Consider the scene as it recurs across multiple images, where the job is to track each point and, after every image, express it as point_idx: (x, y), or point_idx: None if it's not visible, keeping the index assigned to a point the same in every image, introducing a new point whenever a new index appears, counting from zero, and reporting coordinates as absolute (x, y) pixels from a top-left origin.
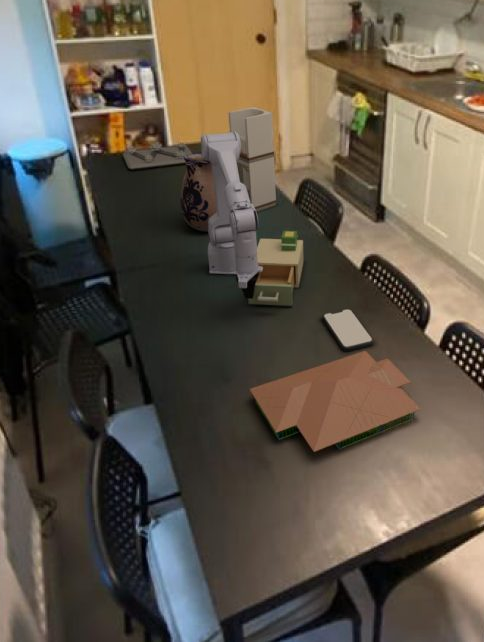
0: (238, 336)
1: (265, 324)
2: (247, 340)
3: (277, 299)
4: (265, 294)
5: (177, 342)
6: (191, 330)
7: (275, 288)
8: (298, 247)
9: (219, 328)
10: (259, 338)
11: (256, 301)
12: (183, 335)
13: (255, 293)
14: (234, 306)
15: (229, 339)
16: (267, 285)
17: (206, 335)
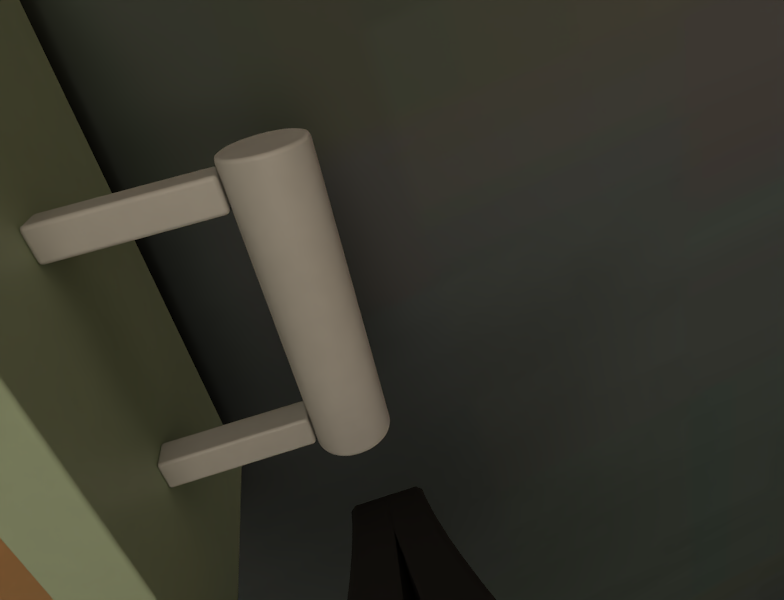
0: (694, 306)
1: (491, 164)
2: (748, 214)
3: (302, 143)
4: (145, 402)
5: (749, 564)
6: (638, 573)
7: (19, 329)
8: None
9: (603, 465)
10: (723, 122)
11: (209, 423)
12: (687, 576)
13: (204, 513)
14: (294, 527)
15: (730, 346)
16: (75, 504)
17: (685, 487)
